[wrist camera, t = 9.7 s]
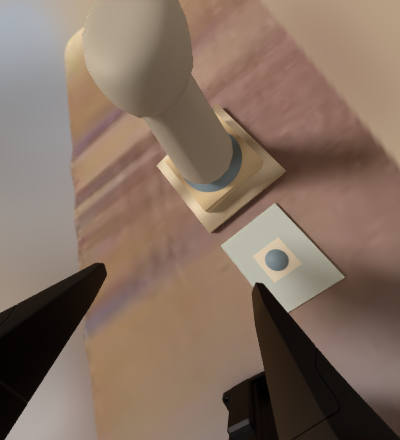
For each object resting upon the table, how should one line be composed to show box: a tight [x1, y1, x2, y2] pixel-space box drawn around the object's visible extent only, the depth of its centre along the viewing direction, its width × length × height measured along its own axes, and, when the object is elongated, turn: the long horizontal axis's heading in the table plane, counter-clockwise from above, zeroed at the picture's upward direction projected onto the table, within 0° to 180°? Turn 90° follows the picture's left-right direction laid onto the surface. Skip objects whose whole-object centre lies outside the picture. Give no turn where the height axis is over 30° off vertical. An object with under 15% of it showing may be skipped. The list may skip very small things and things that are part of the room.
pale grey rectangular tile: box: [221, 203, 345, 312], centre depth 18 cm, size 10×8×1 cm
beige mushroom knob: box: [82, 0, 233, 184], centre depth 11 cm, size 6×6×13 cm
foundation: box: [157, 104, 286, 233], centre depth 19 cm, size 12×11×3 cm
